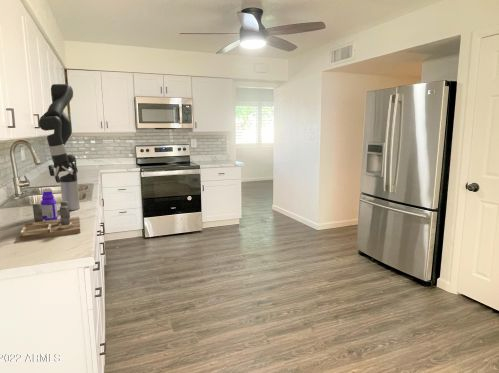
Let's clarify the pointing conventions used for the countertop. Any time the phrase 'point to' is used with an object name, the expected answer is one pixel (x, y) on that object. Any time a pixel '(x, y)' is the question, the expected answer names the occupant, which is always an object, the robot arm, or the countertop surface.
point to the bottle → (48, 205)
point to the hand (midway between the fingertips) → (66, 181)
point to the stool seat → (50, 224)
